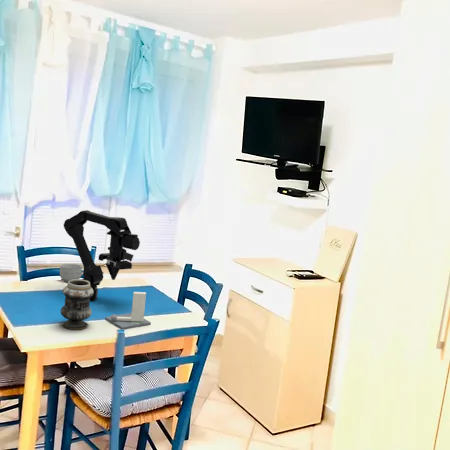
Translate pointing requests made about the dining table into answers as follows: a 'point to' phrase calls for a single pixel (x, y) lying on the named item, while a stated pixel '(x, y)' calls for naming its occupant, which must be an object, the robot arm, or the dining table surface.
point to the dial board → (127, 322)
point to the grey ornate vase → (76, 304)
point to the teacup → (70, 271)
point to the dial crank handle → (134, 308)
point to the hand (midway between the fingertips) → (113, 279)
